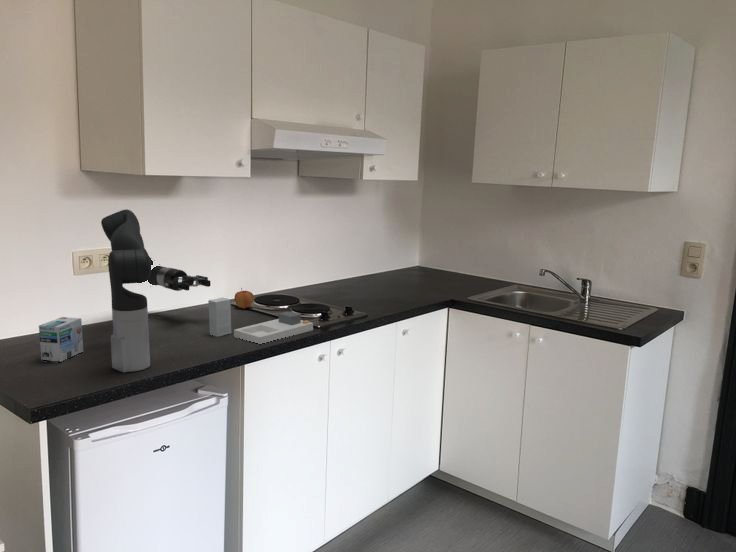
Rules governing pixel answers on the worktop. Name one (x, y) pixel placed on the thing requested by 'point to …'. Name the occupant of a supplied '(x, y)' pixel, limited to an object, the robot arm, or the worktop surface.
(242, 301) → the apple
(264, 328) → the grey rectangular base
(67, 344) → the light bulb box
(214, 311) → the skincare box
